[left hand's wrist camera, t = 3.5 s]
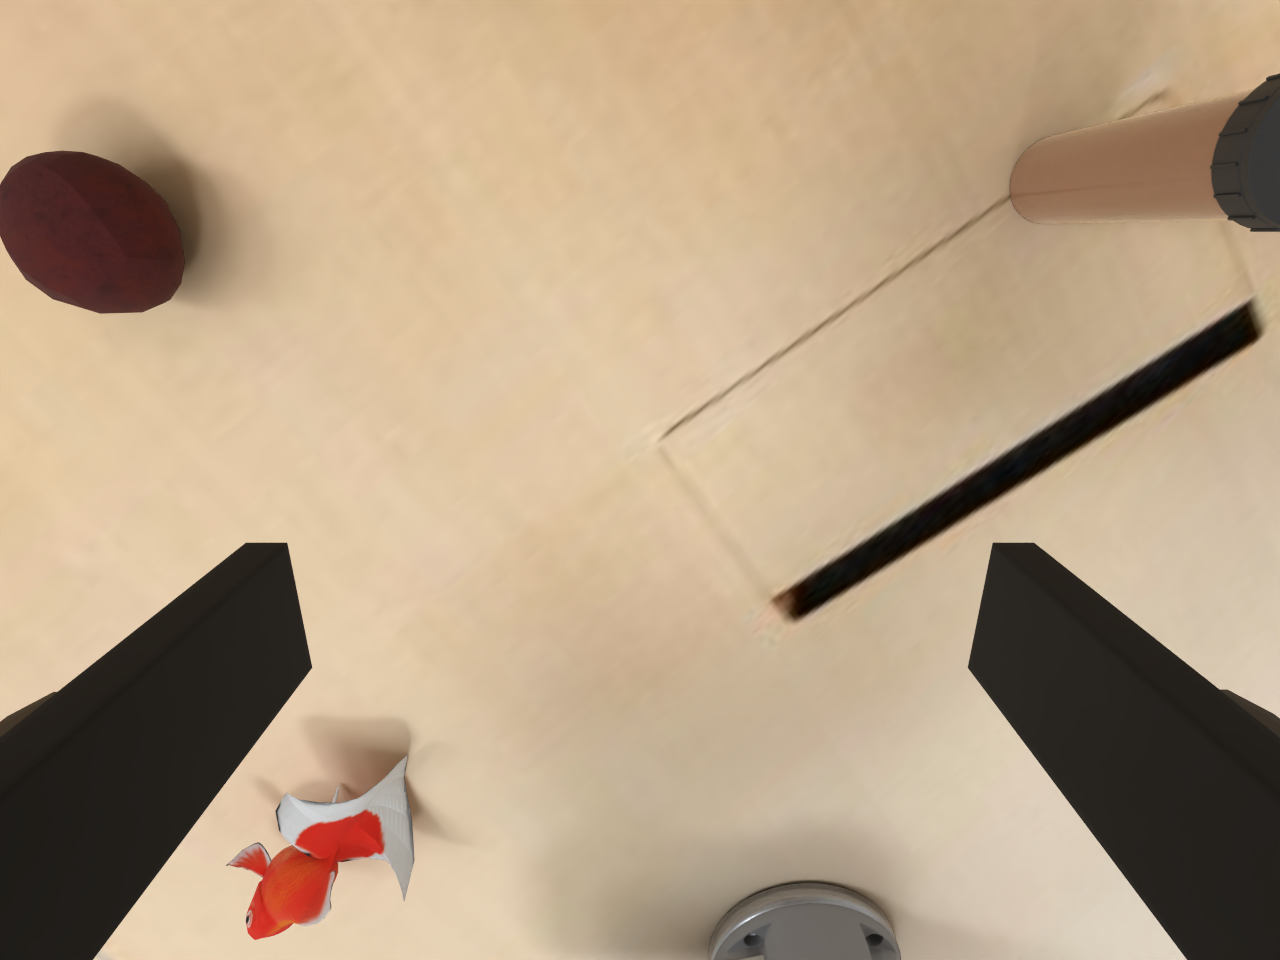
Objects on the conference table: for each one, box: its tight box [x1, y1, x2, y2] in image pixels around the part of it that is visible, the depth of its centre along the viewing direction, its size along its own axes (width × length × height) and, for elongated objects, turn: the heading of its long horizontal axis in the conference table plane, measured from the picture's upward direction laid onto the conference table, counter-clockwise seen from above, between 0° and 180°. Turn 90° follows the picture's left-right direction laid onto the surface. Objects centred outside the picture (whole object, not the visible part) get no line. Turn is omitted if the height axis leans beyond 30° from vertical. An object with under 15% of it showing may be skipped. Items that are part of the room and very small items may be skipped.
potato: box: [0, 151, 185, 313], centre depth 33 cm, size 7×8×7 cm
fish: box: [226, 754, 414, 940], centre depth 47 cm, size 11×16×10 cm
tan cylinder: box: [1010, 89, 1255, 224], centre depth 29 cm, size 4×4×15 cm
